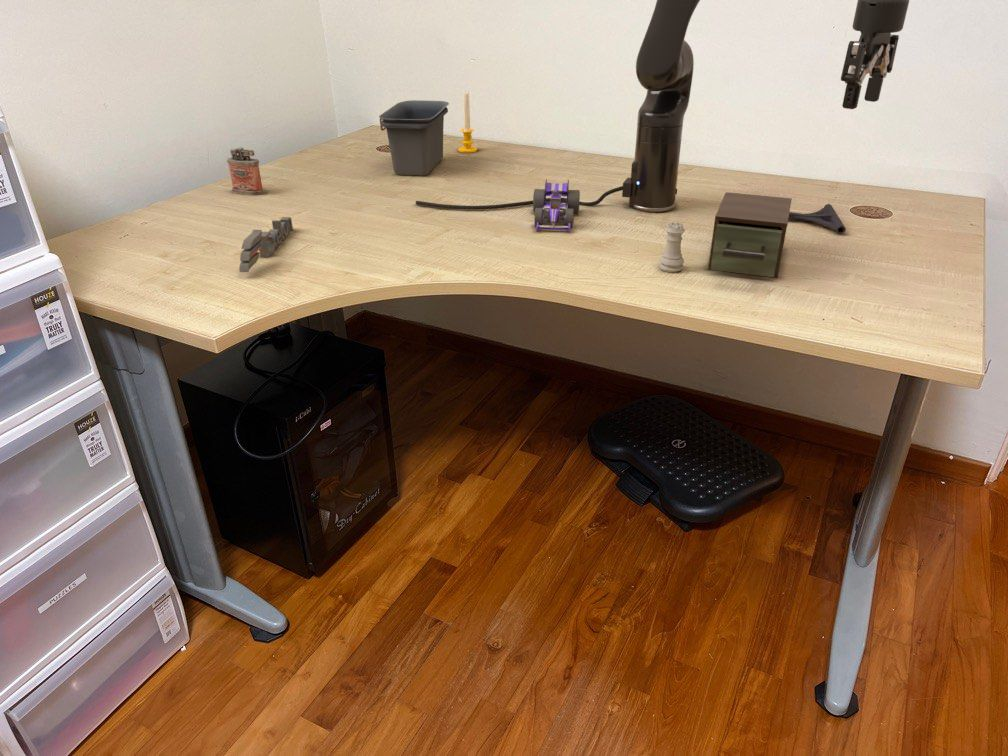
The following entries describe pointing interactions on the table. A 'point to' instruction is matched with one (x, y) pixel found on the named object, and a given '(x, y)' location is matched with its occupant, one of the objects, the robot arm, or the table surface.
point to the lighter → (245, 172)
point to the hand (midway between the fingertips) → (860, 104)
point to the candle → (467, 127)
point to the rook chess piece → (672, 249)
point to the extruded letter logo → (264, 242)
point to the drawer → (746, 248)
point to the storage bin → (415, 135)
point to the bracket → (820, 218)
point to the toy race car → (555, 206)
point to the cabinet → (754, 215)
